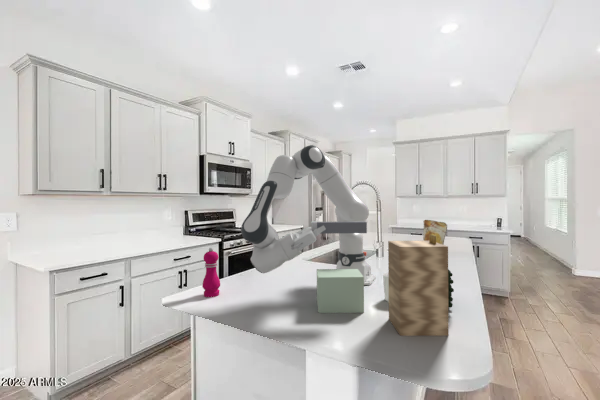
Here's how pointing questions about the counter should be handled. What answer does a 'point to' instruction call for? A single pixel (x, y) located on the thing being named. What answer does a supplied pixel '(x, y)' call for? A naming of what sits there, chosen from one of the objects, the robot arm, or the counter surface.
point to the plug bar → (341, 227)
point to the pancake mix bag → (435, 230)
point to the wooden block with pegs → (418, 287)
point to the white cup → (386, 286)
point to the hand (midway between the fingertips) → (324, 226)
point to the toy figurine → (450, 289)
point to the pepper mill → (211, 274)
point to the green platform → (340, 291)
